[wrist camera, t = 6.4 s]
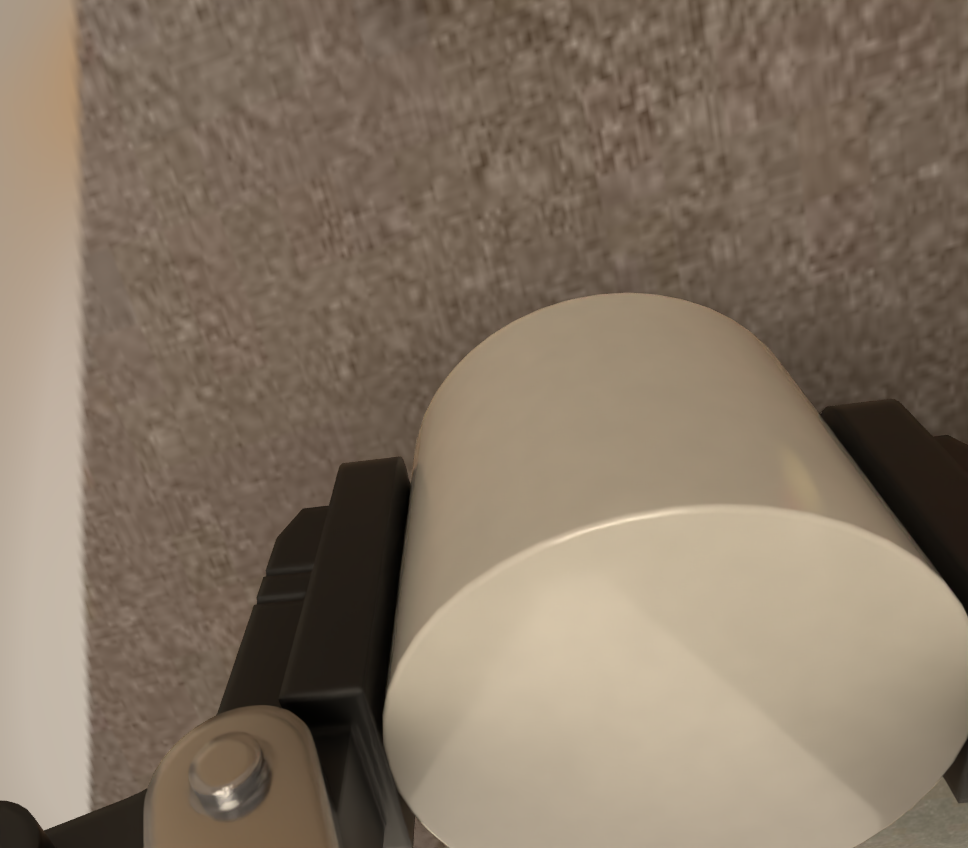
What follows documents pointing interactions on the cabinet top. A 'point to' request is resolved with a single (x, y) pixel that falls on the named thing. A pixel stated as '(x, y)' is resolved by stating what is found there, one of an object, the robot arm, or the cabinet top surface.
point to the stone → (927, 824)
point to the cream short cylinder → (658, 601)
